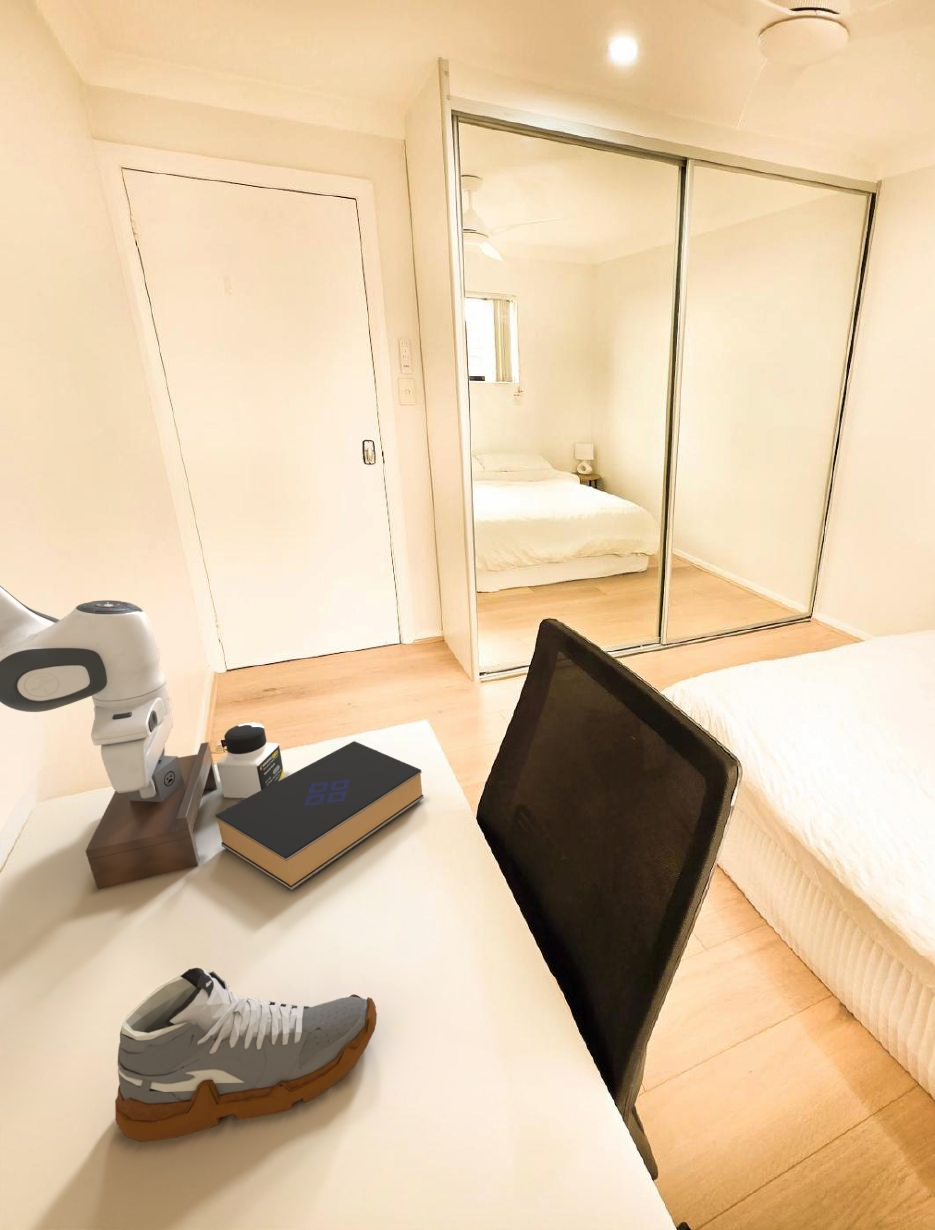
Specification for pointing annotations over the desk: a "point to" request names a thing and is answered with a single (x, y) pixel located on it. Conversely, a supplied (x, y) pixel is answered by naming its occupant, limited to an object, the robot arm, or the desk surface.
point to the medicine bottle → (249, 761)
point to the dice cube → (162, 780)
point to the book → (319, 812)
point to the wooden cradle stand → (152, 829)
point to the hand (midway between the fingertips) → (154, 782)
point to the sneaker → (228, 1055)
